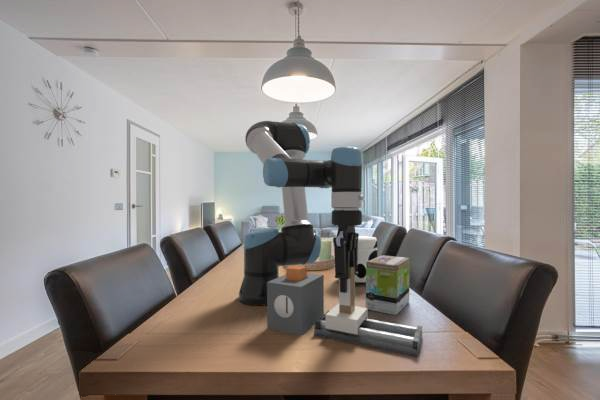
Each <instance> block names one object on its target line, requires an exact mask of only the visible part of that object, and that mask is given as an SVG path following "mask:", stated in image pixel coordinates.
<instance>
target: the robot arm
mask: <svg viewBox="0 0 600 400" xmlns="http://www.w3.org/2000/svg"><path fill="white" fill-rule="evenodd" d="M244 140H245V145H246V147H247V148H248V150H249V151H250V152H251V153H253V154H255V155H256V156H257V157H258V159H259V160H260V162H261V163H262V164H263V166H262V167H263V168H262V177H263V183H264V184H265V185H266V186H268V187H275V188H281V191H282V203H283V215H284V216H283V217H284V224H283V225H282V226H281V227H280V228H281V229H280V231H279V229H278V228H276V227H274V228H273V227H270V228H263V229H262V228H261V229H256V230H252V231H249V232H247V233H246V234H245V235H244V239H243V279H242V282H241V285H240V287H239V288H240V289H239V291H238V301H239V302H240V303H242V304H245V305H249V306H250V305H251V306H266V305H267V282H269V281H271V280H274V279H276V278H278V277H280V274H279V269H280V268H279V267H282V266H283V267H284V266H293V265H297V266H300V265H301V266H304V265H307V264H312V263H315V262H316V261H317V260H318V258H319V256H320V254H321V249H322V239H321V238H322V237H321V235H320V233H319V231H318V230H315V229H314V224H312V223H311V222H310V220H309V215H308V206H307V194H306V193H307V192H306V188H319V189H329V188H331V203H330V204H331V205H330V206H331V208H332V209H333V210H332V211H331V224H332V225H333V226H337V233H336V237H333V239H332V243H333V250H334V273H335V274H334V278H335V279H338V304H339V305H346V306H350V279H349V266H350V267H354V270H355V275H358V272H356V271H357V269H358V268H357V265H358V237H359V236H360V234H359V233H358V232H356V226H361V225H362V224H363V218H362V217H363V216H362V215H363V212H362V210H361V208H362V206H363V205H362V200H364V196H363V195H362V187H363V186H362V183H363V180H362V179H363V176H362V175H363V173H362V172H363V167H362V166H363V162H362V152H361V151H362V150H361V149H360V148H358V147H355V146H340V147H334V148H333V149H332V151H331V156H330V159H329V160H320V159H318V160H317V159H304V158H306V154H307V153H308V152H309V150H310V147H311V146H310V143H311V138H310V133H309V130H308V129H307V127H306V126H305V125H304V124H300V123H296V122H283V121H282V122H281V121H272V120H262V121H259V122H256V123H254V124H252V125H251V126H250V127H249V128H248V130H247V131H246V134H245V139H244Z"/></svg>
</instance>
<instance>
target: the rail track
mask: <svg viewBox="0 0 600 400" xmlns="http://www.w3.org/2000/svg"><path fill="white" fill-rule="evenodd" d="M329 311H330V310H327V311H326V312H324V315H323V316H321V317H320V318H319V319H318V320H317V321H315V325H314V329H313V335H314V336H319V337H323V338H328V339H331V340H332V339H333V340H337V341H342V342H347V343H350V344H351V343H352V344H356V345H360V346H364V347H369V348H374V349H379V350H384V351H388V352H391V353H392V352H393V353H398V354H403V355H407V356H412V357H418V356H419V352H420V349H421V344H422V340H423V326H422V325H421V326H420V325H417V326H410V325H406V324H405V325H404V324H400V323H393V322H388V321H382V320H377V319H371V318H370V319H369V318H368V319H365V320H364V321H363V322H362V324H361V325H360V326H359V327H358V334H352V333H347V332H342V331H337V330H332V329H327V328H325V319H326V314H327V313H328V312H329Z"/></svg>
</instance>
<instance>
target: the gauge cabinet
mask: <svg viewBox="0 0 600 400" xmlns="http://www.w3.org/2000/svg"><path fill="white" fill-rule="evenodd" d="M324 279H325V278H324V274H322V273H321V274H319V273H311V272H307V279H305V280H303V281H293V280H286V273H285V274H283V275H281V276H279V277H278V278H276V279H274V280H271V281H269V282H267V306H266V313H267V316H266V317H267V318H266V319H267V321H266V324H267V325H266V326H267V329H269V330H273V331H278V332H281V333H286V334H292V335H296V336H300V337H302V336H304V334H306V333H307V332H308V331H310V330H311V328H312V326H313V327H315V321H317V320H318V319H319V318H320V317H321V316H323V315H324V314H325V306H324V304H325V301H324V297H325V296H324V295H325V294H324V292H325V291H324V289H325V286H324V285H325V284H324V283H325V282H324V281H325V280H324Z"/></svg>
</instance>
